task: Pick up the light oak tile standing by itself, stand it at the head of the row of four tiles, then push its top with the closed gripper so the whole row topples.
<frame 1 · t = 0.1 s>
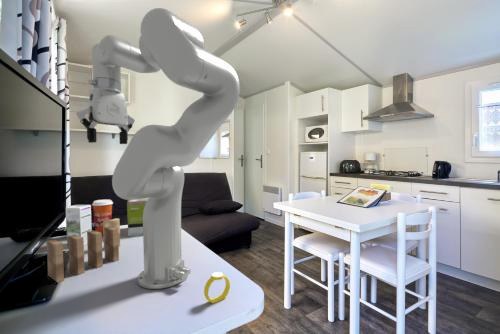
hand: (108, 143, 78), 37 cm above the table, tool pointing down, fingers open, 9 cm apart
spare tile: (112, 247, 89), on the table
tile 1: (111, 259, 79), on the table
yellow ring-shaped piece: (217, 300, 56), on the table
tile 2: (95, 265, 75), on the table
paper cup: (103, 233, 107), on the table
tile 4: (56, 279, 66), on the table
tea box: (142, 231, 110), on the table
syrup box: (80, 244, 93), on the table
tile 3: (76, 271, 71), on the table
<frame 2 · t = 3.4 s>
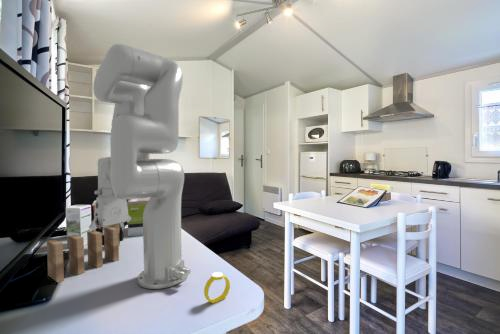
hand: (112, 242, 89), 2 cm above the table, tool pointing down, fingers closed on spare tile, 4 cm apart
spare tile: (112, 247, 89), on the table, touching gripper
everything else where it was.
when the fingers open (2 cm above the table, at t = 9.4 s): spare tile stays where it is, on the table.
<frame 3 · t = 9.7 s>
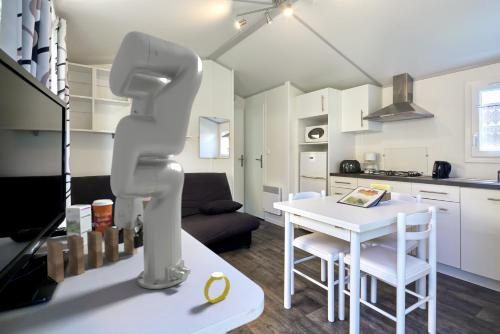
hand: (130, 244, 85), 3 cm above the table, tool pointing down, fingers open, 8 cm apart
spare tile: (130, 252, 85), on the table
everything else where it was.
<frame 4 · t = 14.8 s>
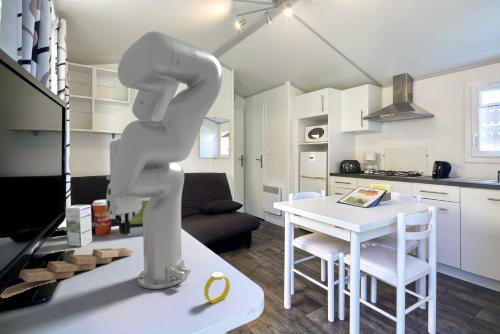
hand: (124, 233, 83), 7 cm above the table, tool pointing down, fingers closed
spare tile: (127, 251, 84), point 1 cm above the table, tilted 75°, touching tile 1
tile 1: (106, 258, 78), point 1 cm above the table, tilted 72°, touching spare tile, tile 2
tile 2: (90, 264, 74), point 1 cm above the table, tilted 73°, touching tile 1
tile 4: (51, 279, 66), on the table, tilted 90°, touching tile 3
tile 3: (69, 271, 69), point 1 cm above the table, tilted 73°, touching tile 4
everything else where it was.
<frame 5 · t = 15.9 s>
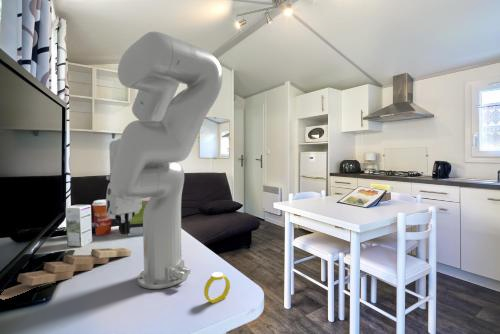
hand: (124, 233, 83), 7 cm above the table, tool pointing down, fingers closed
tile 1: (103, 259, 77), point 1 cm above the table, tilted 71°, touching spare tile, tile 2
tile 4: (50, 280, 65), on the table, tilted 90°
tile 3: (66, 272, 68), point 1 cm above the table, tilted 74°
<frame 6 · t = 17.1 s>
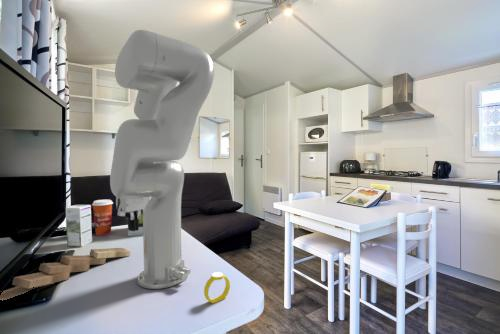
hand: (133, 230, 86), 7 cm above the table, tool pointing down, fingers closed
tile 2: (83, 266, 73), point 1 cm above the table, tilted 72°, touching tile 1, tile 3
tile 4: (49, 282, 64), on the table, tilted 90°, touching tile 3
tile 3: (61, 274, 67), point 1 cm above the table, tilted 76°, touching tile 2, tile 4
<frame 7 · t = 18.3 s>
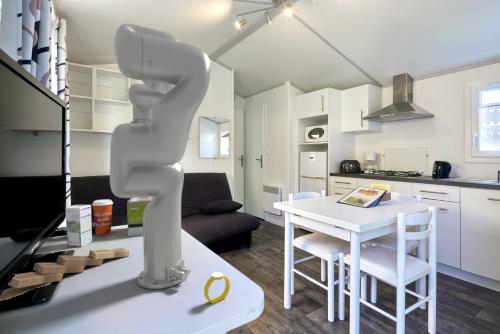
hand: (146, 178, 89), 25 cm above the table, tool pointing down, fingers closed
tile 1: (98, 260, 77), point 1 cm above the table, tilted 71°, touching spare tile
tile 2: (79, 267, 72), point 1 cm above the table, tilted 70°, touching tile 3
tile 3: (55, 274, 66), point 1 cm above the table, tilted 74°, touching tile 2, tile 4
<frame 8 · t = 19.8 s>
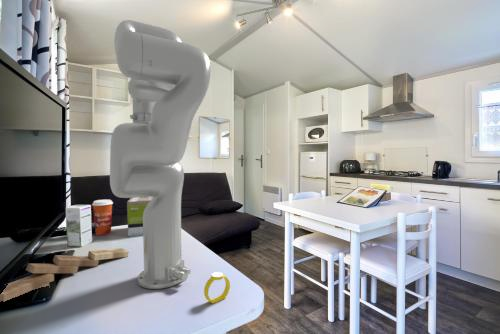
hand: (145, 171, 89), 27 cm above the table, tool pointing down, fingers closed
tile 2: (73, 268, 70), point 1 cm above the table, tilted 69°, touching tile 3
tile 3: (47, 275, 64), point 2 cm above the table, tilted 90°, touching tile 2, tile 4
at the end: tile 4 tilted 90°; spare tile tilted 79°; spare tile inside the target area (0.6 cm from its centre), point 0.7 cm above the table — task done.
